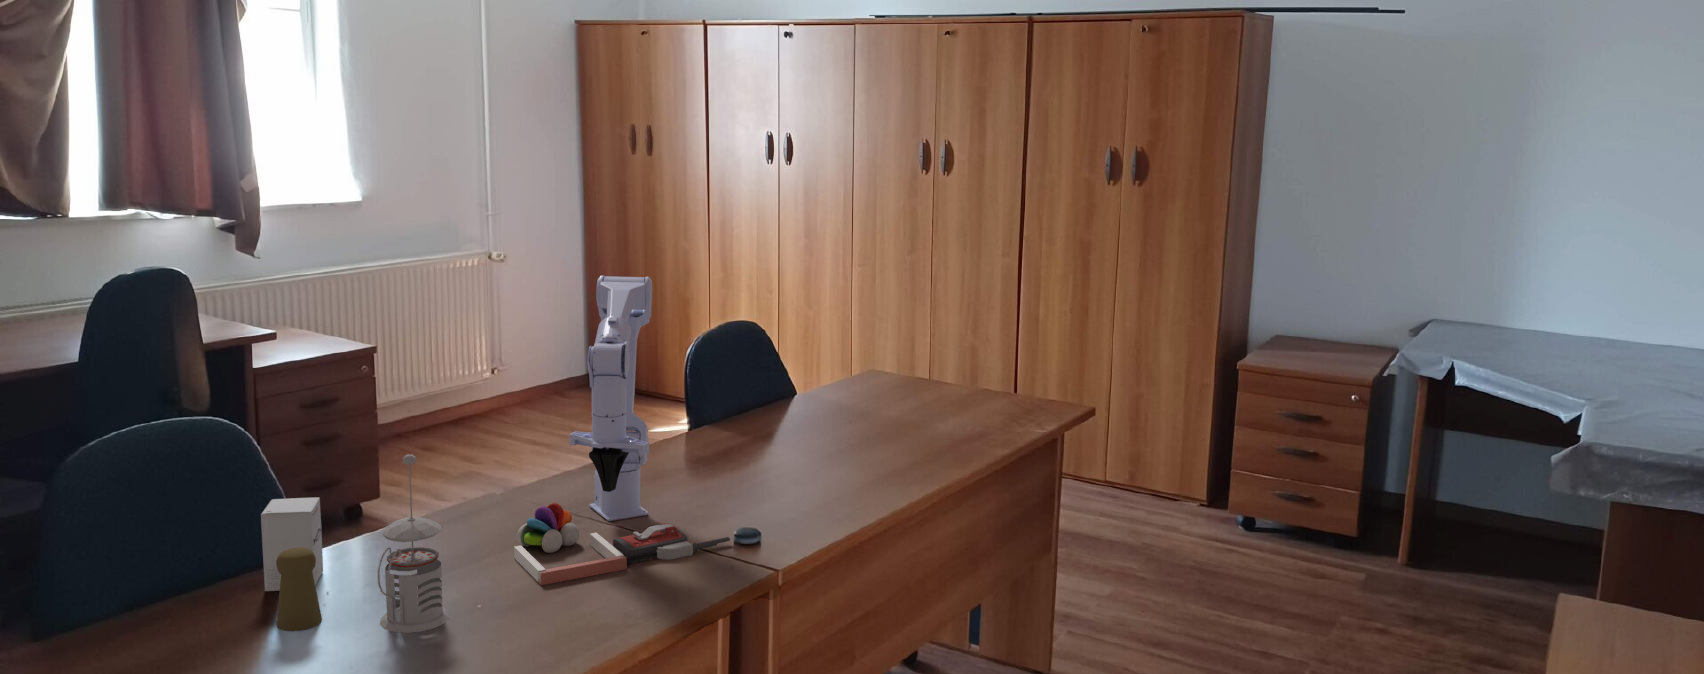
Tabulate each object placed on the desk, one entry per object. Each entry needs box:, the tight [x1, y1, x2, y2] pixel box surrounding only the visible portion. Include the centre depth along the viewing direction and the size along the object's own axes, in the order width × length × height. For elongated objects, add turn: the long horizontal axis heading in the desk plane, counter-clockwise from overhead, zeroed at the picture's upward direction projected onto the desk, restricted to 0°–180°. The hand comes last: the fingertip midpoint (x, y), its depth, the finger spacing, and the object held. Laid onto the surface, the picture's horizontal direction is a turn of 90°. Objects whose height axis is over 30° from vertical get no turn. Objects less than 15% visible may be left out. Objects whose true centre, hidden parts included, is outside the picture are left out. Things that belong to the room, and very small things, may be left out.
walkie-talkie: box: [612, 522, 731, 564], centre depth 213 cm, size 9×4×20 cm
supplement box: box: [260, 497, 324, 592], centre depth 193 cm, size 7×7×13 cm
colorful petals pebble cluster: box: [516, 502, 580, 554], centre depth 212 cm, size 8×10×7 cm
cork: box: [276, 547, 323, 632], centre depth 179 cm, size 6×6×11 cm
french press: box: [377, 454, 451, 634], centre depth 179 cm, size 10×12×25 cm
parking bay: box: [513, 532, 628, 586], centre depth 205 cm, size 13×14×2 cm
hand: (609, 489), depth 212 cm, fingers closed
